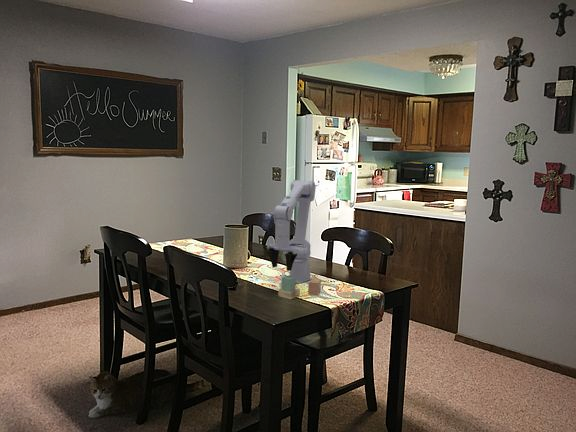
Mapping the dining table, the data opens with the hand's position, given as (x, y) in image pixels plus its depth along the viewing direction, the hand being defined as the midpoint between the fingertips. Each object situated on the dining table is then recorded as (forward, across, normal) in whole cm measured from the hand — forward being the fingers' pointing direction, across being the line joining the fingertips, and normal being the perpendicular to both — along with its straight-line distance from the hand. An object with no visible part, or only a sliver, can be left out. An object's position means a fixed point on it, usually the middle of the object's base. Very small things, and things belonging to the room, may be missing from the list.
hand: (281, 268), depth 205 cm
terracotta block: (+10, +11, +8) cm, 17 cm away
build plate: (+11, -19, -8) cm, 23 cm away
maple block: (+10, +5, -2) cm, 12 cm away
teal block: (+7, +5, -2) cm, 9 cm away
